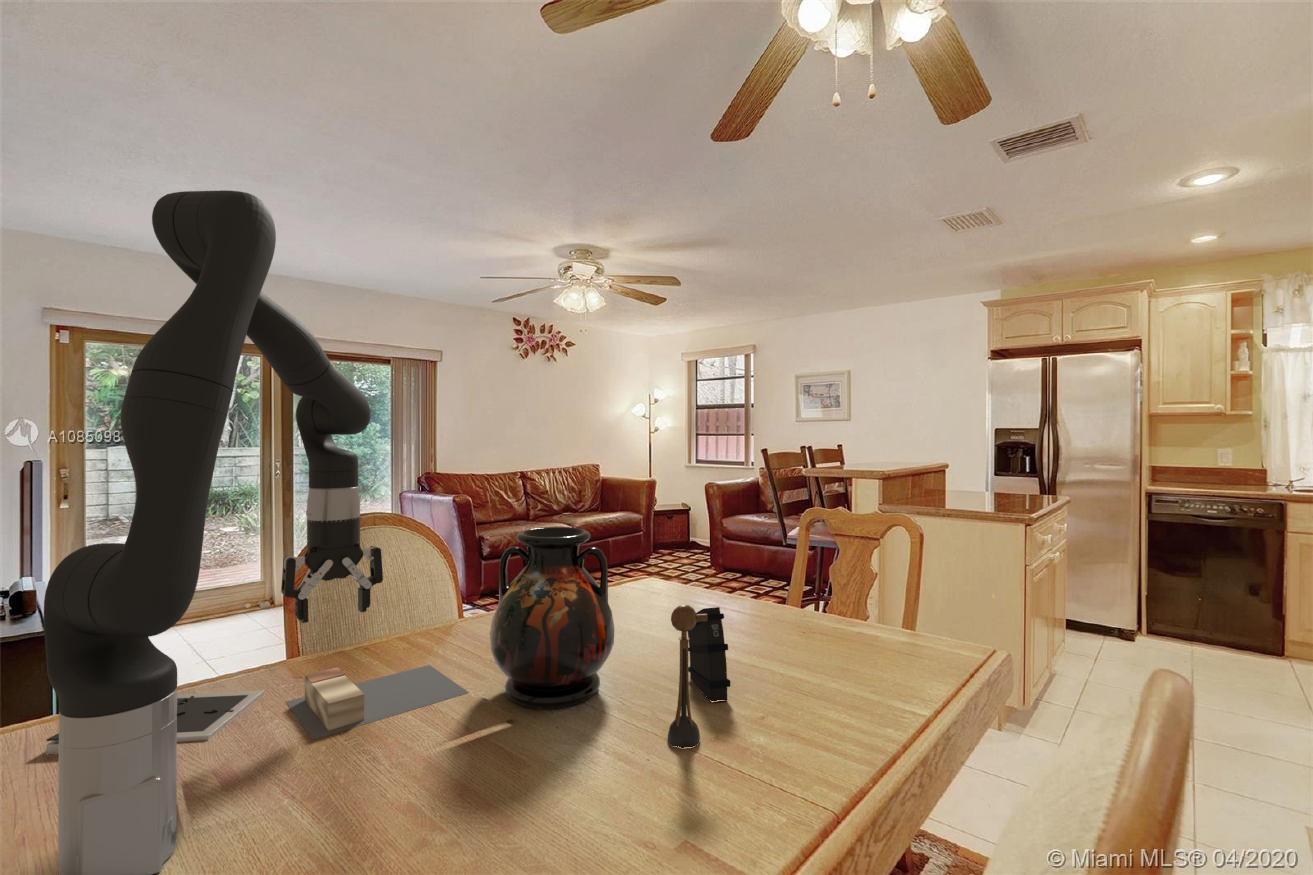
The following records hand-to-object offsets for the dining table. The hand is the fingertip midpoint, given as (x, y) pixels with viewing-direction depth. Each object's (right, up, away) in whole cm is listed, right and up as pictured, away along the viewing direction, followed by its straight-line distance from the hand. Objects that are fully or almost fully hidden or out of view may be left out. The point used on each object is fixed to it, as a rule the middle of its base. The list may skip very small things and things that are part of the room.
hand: (334, 616), depth 97 cm
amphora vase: (+34, -16, +9) cm, 38 cm away
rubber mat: (+5, -16, +5) cm, 17 cm away
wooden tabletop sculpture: (+56, -16, -8) cm, 59 cm away
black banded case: (+61, -16, +11) cm, 64 cm away
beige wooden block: (0, -15, 0) cm, 15 cm away
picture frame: (-24, -17, -3) cm, 30 cm away
